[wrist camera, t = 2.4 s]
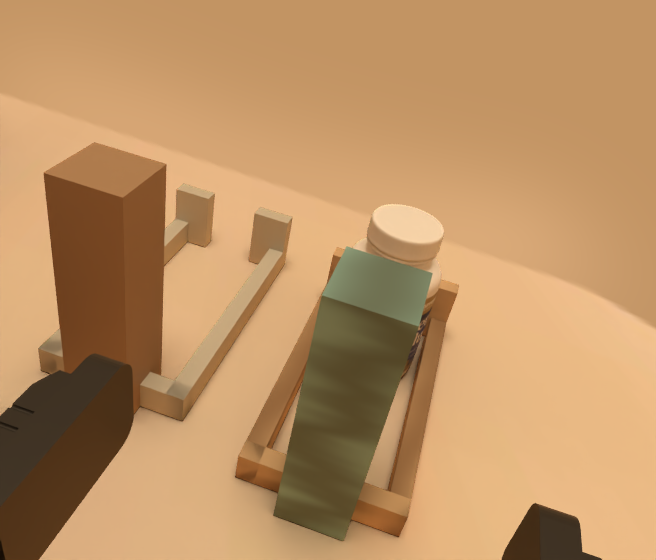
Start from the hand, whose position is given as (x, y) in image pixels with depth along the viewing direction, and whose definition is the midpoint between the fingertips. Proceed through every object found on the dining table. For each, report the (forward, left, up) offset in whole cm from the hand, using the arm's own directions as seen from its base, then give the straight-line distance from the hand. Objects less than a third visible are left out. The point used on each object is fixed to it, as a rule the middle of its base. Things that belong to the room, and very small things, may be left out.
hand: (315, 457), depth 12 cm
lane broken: (-12, +20, -16) cm, 28 cm away
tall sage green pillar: (0, +18, -16) cm, 24 cm away
